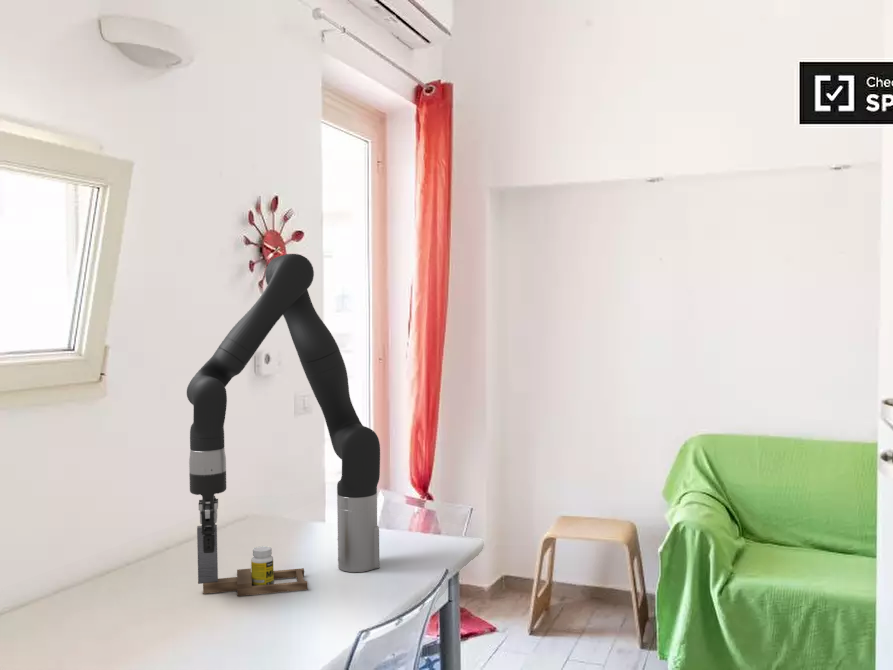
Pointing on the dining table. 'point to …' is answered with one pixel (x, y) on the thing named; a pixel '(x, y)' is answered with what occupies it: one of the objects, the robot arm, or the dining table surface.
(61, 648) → the dining table surface
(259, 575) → the supplement bottle
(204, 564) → the strip frame
